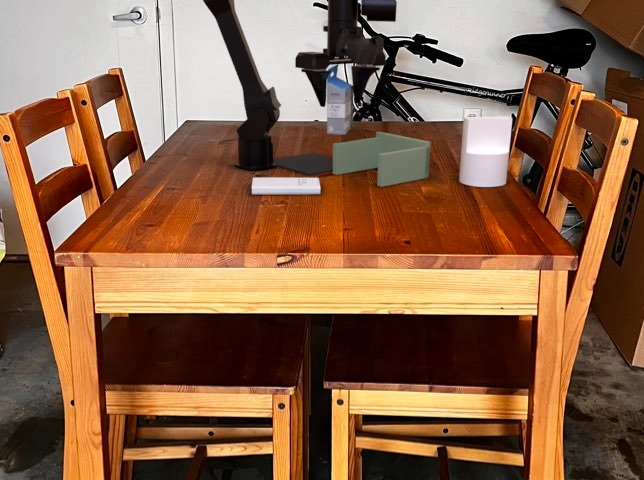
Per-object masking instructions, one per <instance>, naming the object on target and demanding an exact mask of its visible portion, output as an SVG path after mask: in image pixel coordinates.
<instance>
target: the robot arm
mask: <svg viewBox="0 0 644 480" xmlns="http://www.w3.org/2000/svg"><path fill="white" fill-rule="evenodd" d="M202 2H203V3H204V5H205V6H206V8H207V9H208V10H209V12H210V13H211V14H212V16H213V17H214V19H215V22H216V24H217V27H218V29H219V31H220V34H221V36H222V37H221V38H222V40H223V42H224V45H225V48H226V49H227V52H228V55H229V57H230V60H231V63H232V65H233V67H234V70H235V74H236V75H237V78H238V80H239V83H240V86H241V88H242V97H243V107H244V111H245V117H246V119H245V121H243V122H242V123H241V125H240V126H238V128H237V129H236V133H237V136H238V137H237V154H238V162H236V163H234V167H237V168H240V169H243V170H247V171H250V172H254V171H260V170H266V169H267V170H268V169H272V168H277V166H276V164H272V163H273V159H274V143H273V142H272V135H268V134H269V133H270V130H271V129H272V128H273V127H274V126H275V125H276V123H278V120H279V119H280V116H281V110H280V108H281V106H282V103H280V101H279V99H278V98H277V94H276V89H275V86H271V87H270V88H268V87H267V86H266V85H265V83H264V82H263V80H262V78H261V75H260V72H259V70H258V67H257V64H256V62H255V59H254V57H253V55H252V54H253V53H252V51H251V49H250V46H249V43H248V41H247V39H246V35H245V32H244V30H243V28H242V25H241V22H240V20H239V17H238V14H237V12H236V7H235V0H202ZM397 5H398V1H397V0H361V2H360V16H363V17H366V22H385V23H386V22H388V23H389V22H391V23H396V21H397V7H398V6H397ZM358 13H359V0H327V25H323V26H322V28H323V29H322V32H326V33H327V34H326V35H327V36H326V39H327V41H326V47H325V48H322V52H320V51H298V52H297V54H296V56H295V58H294V59H295V61H294V62H295V63H294V64H295V67H294V68H297V69H300V71H301V73H304V74H305V76H306V77H307V79H308V81H309V83H310V85H311V88H312V89H313V92H314V94H315V97H316V99H317V101H318V104H319V107H321V108H325V107H326V105H327V78H328V76H329V74H330V73H331V71H328V69H329V66H331V65H332V66H335V65H350V64H355V65H351V67H350V68H351V80H352V81H351V82H352V85H353V100H354V103H355V104H359V105H360V104H361V101H362V98H363V96H364V93H365V91H366V88H367V85H368V83H369V80H370V79H371V77H372V76H373V75H374V73H376V72H378V71H380V70H381V67H382V66H383V67H385V66H386V62H387V61H386V59H387V56H386V54H385V51H384V49H385V47H384V46H385V45H384V38H383V37H381V36H380V35H372V36H371V37H370V38H369V37H364V36H363V29H362V28H363V27H362V26H358V18H359V17H358ZM331 74H332V73H331Z"/></svg>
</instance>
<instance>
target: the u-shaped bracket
mask: <svg viewBox="0 0 644 480" xmlns="http://www.w3.org/2000/svg"><path fill="white" fill-rule="evenodd" d="M431 144H432V143H431V141H430V140H429V141H428V140H423V139H418V138H413V137H409V136H404V135H398V134H394V133H388V132H384V131H376V132H375V137H369V138H368V137H367V138H361V139H356V140H349V141H341V142H334V143H332V157H333V171H332V175H335V176H338V175H343V174H349V173H356V172H360V171H366V170H372V169H377V179H376V182H377V183H376V184H377V187H380V188H383V187H389V186H394V185H398V184H403V183H409V182H414V181H418V180H423V179H428V178H429V177H430V176H429V175H430V161H431V160H430V159H431Z"/></svg>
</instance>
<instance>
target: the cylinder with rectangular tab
mask: <svg viewBox="0 0 644 480" xmlns="http://www.w3.org/2000/svg"><path fill="white" fill-rule="evenodd" d="M512 127H513V117H511V116H508V115H503V116H502V115H500V116H499V115H495V116H493V115H492V116H463V123H462V136H461V149H460V162H459V174H458V175H459V176H458V177H459V178H458V182H459V183H461V184H463V185H466V186H471V187H478V188H480V187H481V188H494V187H502V186H505V185H506V184H507V178H508V169H509V168H508V167H509V160H510V159H509V157H510V147H511V137H512Z"/></svg>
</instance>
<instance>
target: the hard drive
mask: <svg viewBox="0 0 644 480" xmlns="http://www.w3.org/2000/svg"><path fill="white" fill-rule="evenodd" d="M321 189H322V188H321V182H320V178H319V177H252V182H251V195H252V196H269V195H270V196H286V195H287V196H294V195H295V196H298V195H299V196H302V195H303V196H305V195H306V196H307V195H308V196H310V195H311V196H312V195H313V196H314V195H321Z"/></svg>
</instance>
